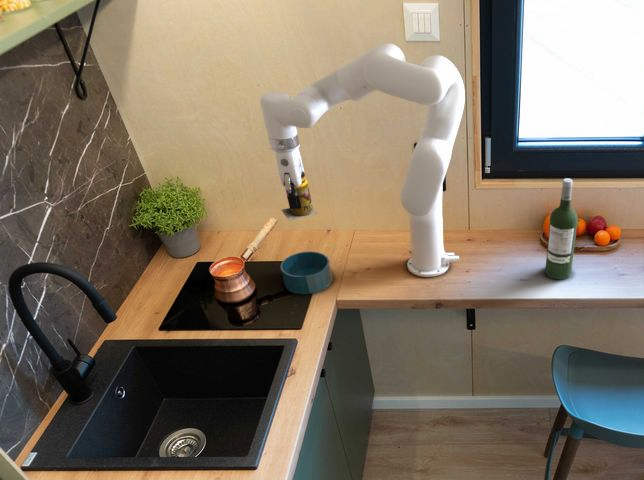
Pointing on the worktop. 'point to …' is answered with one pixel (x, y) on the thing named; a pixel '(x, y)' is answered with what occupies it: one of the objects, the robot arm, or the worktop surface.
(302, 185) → the condiment
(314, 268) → the bowl
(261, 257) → the worktop surface
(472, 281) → the worktop surface
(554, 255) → the wine bottle
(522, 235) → the worktop surface
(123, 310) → the worktop surface
